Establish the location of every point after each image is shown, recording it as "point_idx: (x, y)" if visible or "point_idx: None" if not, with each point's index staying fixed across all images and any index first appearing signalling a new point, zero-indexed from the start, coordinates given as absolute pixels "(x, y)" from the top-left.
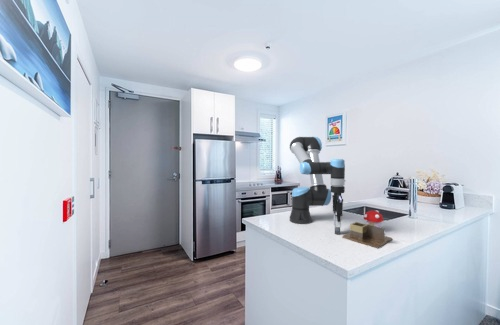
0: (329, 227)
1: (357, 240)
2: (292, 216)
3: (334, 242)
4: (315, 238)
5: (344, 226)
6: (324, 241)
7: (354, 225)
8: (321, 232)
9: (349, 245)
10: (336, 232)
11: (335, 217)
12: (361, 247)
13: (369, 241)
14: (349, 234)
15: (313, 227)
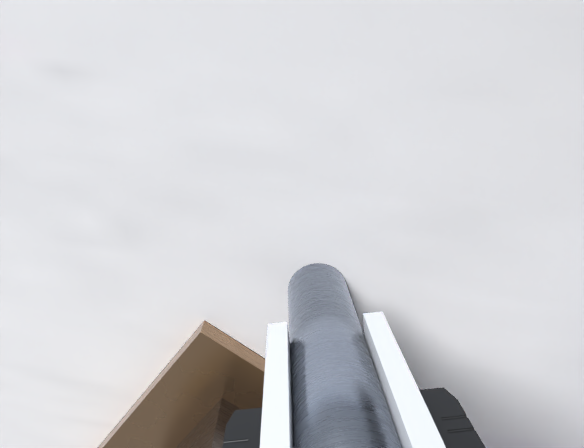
0: (544, 234)
1: (115, 431)
2: None
3: (24, 226)
4: (63, 2)
5: (579, 388)
6: (4, 117)
7: None
8: (331, 111)
9: (8, 346)
10: (292, 289)
11: (315, 439)
12: (8, 422)
13: None
14: None
15: (544, 5)
